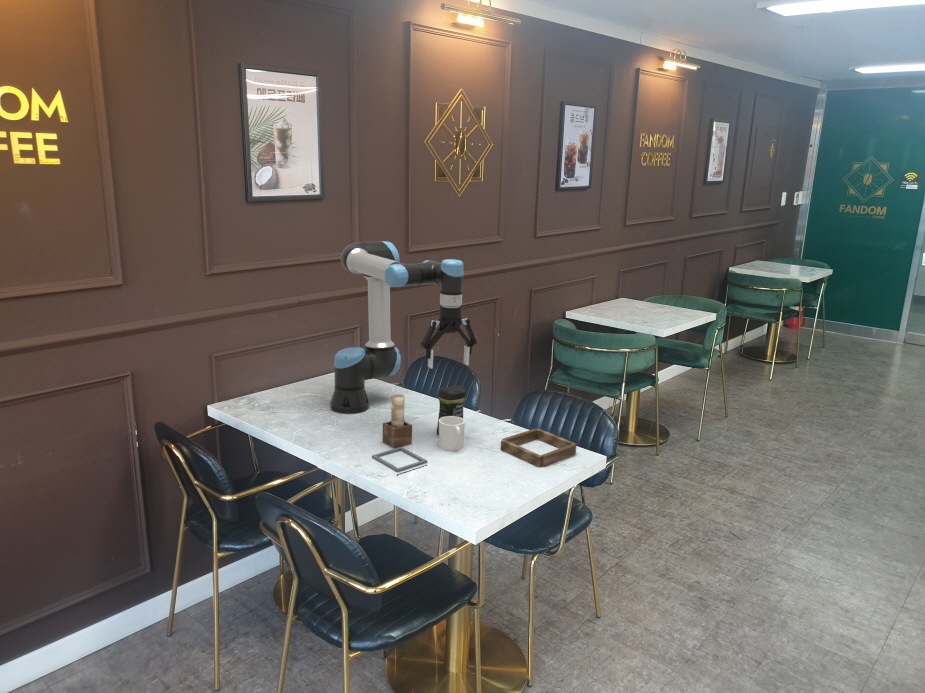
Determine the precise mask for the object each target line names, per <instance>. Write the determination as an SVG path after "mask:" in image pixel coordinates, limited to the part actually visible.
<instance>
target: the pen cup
mask: <svg viewBox="0 0 925 693" xmlns="http://www.w3.org/2000/svg"><path fill="white" fill-rule="evenodd" d="M382 443H383V444H385V445H387V446H389V447H390V448H392V449H395V448H399V447H403V448H404V447H406V446H410V445H412V444H413V424H411V423H409V422H407V421H405V420H404V426H402V427H398V428H394V427H392V426H391V420H390V421H386V422H382Z"/></svg>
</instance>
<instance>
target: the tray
mask: <svg viewBox="0 0 925 693" xmlns="http://www.w3.org/2000/svg"><path fill="white" fill-rule="evenodd" d="M399 452H403V453H404V454H406V455H408V456H410V457H411V458H413V459H415V460H416V462H413V463H410V464H407V465H404V466H401V467H397V466H395V465H393V464H392V463H390V462H389V461H387V460H384V459H383V458H381V457H384V456H387V455H390V454H391V455H392V454H395V453H399ZM371 459H374V460H375V461H376V462H378V463H381V464H382V465H383V466H386V467H387V468H389V469H391V470H392V471H394V472H396V473H397V474H396V476H400V475H403V474H406V473H408V472H412V471H414V470H418V469H421V468H424V466H425V467H427V466H428V459H425V458H423V457H422V456H419V455H418V454H416V453H414V452H413V451H410V450H408V449H406V448H405V447H404V446H403V447H399V448H395V449H394V448H392V449H389V450H385V451H382V452H378V453H376V454H373V455H372V454H371ZM409 469H410V470H409Z"/></svg>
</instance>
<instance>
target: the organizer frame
mask: <svg viewBox="0 0 925 693" xmlns="http://www.w3.org/2000/svg"><path fill="white" fill-rule="evenodd" d="M535 440H538V441H540V442H543V443H545V444H547V445H550V446H552V447H555V448H556V449H553V450H552V451H551V450H550V451H549V452H546V453H543V454H538V453H536V452H534V451H531V450H529V449H527V448H526V447H525V448H524V447H522V446H521V445H523V444H526V443H529V442H533V441H535ZM500 451H502V452H504V453H506V454H508V455H511V456H512V457H515V458H517V459H519V460H522V461H524V462H526V463H528V464H530V465H533V466H535V467H537V468H541V467H546V466H550V465H551V464H554V463H558V462H560V461H562V460H565V459H567V458H570V457H573V456H575V455H576V453H577V442H576V443H575V442H573V441H572V440H568V439H565V438H563V437H561V436H558V435H556V434H554V433H551V432H548V431H546V430H544V429H541V428H539V427H538V428H531V429H529V430H525V431H523V432H522V431H521V432H520V433H516V434H513V435H511V436H507V437H504V438H502V439H501V440H500Z"/></svg>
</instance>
